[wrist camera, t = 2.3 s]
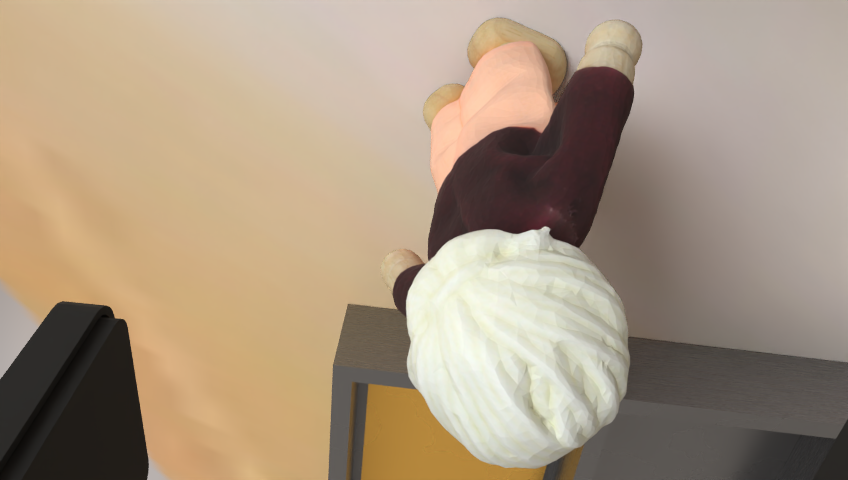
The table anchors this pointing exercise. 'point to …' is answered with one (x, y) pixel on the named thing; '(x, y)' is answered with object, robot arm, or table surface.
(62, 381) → the robot arm
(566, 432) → the grandmother figurine
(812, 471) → the tray
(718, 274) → the table surface
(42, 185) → the table surface
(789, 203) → the table surface
